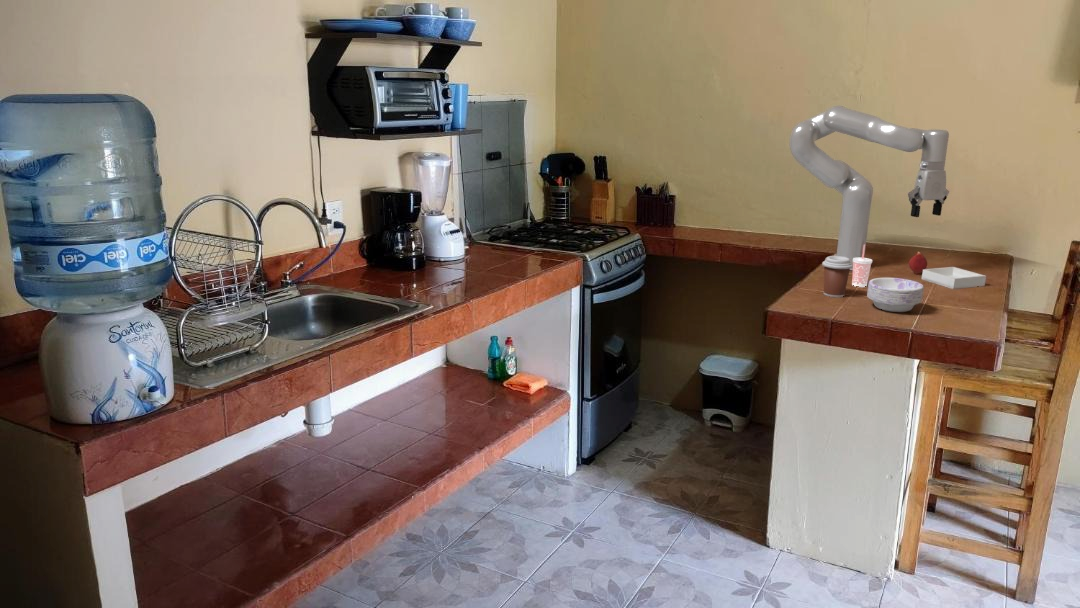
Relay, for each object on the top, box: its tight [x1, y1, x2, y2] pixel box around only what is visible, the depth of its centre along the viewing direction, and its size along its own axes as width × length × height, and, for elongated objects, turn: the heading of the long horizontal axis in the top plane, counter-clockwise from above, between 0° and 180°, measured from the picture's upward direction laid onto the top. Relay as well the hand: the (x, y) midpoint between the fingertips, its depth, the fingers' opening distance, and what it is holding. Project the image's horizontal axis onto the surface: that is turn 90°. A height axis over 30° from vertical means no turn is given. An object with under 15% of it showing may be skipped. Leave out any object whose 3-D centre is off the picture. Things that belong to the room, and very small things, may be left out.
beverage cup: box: [851, 245, 873, 288], centre depth 258 cm, size 6×6×14 cm
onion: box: [908, 251, 928, 275], centre depth 275 cm, size 6×6×8 cm
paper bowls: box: [866, 277, 925, 313], centre depth 233 cm, size 15×15×8 cm
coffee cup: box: [821, 255, 853, 298], centre depth 247 cm, size 9×9×12 cm
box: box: [921, 266, 987, 290], centre depth 264 cm, size 14×14×4 cm
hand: (925, 215), depth 270 cm, fingers open, 9 cm apart
